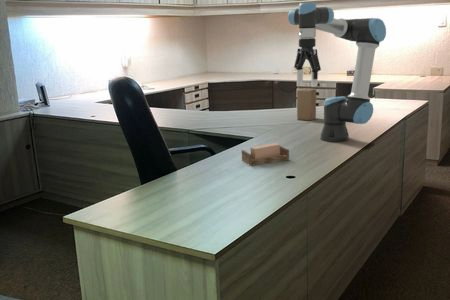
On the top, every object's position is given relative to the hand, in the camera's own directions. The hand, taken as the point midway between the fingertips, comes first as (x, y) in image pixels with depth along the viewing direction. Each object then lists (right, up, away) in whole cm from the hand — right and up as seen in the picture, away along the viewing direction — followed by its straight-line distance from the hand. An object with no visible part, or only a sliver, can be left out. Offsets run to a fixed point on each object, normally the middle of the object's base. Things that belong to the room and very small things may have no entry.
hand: (306, 85), depth 226 cm
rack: (-19, -35, +6) cm, 40 cm away
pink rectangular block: (-19, -34, +6) cm, 39 cm away
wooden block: (+17, -10, +101) cm, 102 cm away
